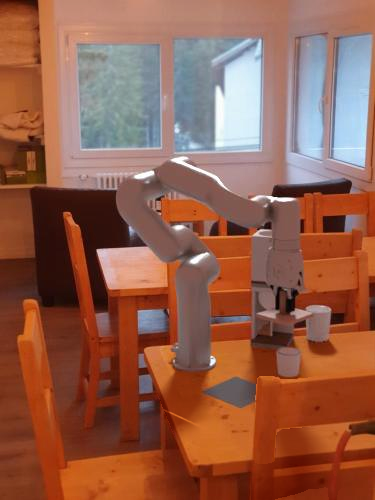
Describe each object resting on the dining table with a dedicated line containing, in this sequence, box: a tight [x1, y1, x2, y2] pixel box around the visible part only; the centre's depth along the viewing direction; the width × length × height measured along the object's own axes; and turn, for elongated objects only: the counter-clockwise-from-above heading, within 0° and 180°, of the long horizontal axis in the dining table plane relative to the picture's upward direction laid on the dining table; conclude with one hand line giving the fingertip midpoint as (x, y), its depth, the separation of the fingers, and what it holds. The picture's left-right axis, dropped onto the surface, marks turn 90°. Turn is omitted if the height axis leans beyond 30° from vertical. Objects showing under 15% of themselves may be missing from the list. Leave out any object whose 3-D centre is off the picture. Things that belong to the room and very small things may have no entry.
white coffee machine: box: [250, 228, 295, 350], centre depth 218 cm, size 11×11×35 cm
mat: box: [200, 376, 257, 409], centre depth 186 cm, size 14×14×1 cm
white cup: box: [305, 304, 332, 343], centre depth 224 cm, size 8×8×10 cm
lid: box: [256, 289, 314, 326], centre depth 191 cm, size 11×11×8 cm
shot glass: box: [275, 346, 302, 378], centre depth 196 cm, size 7×7×7 cm
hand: (285, 309), depth 191 cm, fingers closed on lid, 3 cm apart
